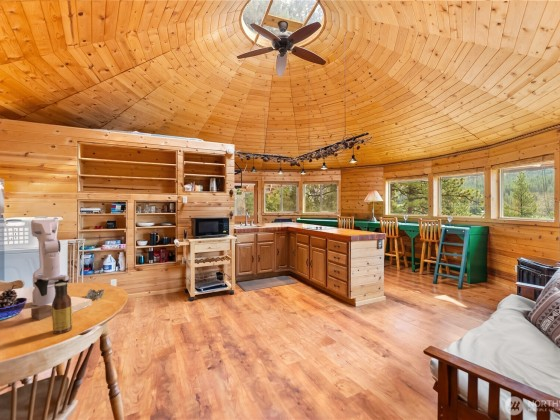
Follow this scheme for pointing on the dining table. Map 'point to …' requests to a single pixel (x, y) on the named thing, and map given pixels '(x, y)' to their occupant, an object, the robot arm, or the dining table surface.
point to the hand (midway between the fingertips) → (52, 295)
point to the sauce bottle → (61, 310)
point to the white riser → (79, 303)
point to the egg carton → (94, 294)
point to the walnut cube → (41, 312)
